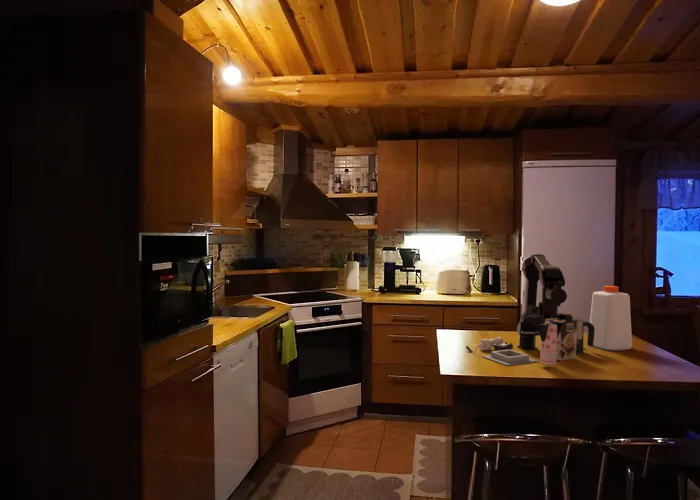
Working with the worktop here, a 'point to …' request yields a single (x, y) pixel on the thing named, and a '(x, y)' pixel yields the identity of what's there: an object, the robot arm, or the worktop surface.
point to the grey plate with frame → (509, 357)
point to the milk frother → (580, 334)
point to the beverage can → (549, 346)
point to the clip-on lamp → (493, 345)
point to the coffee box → (567, 341)
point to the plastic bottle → (611, 319)
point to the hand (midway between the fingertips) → (548, 340)
